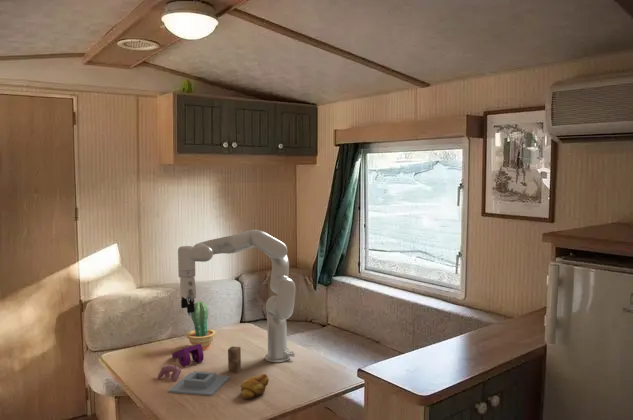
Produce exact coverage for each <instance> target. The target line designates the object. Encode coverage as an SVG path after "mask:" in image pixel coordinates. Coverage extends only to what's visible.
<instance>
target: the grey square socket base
mask: <svg viewBox="0 0 633 420" xmlns="http://www.w3.org/2000/svg"><path fill="white" fill-rule="evenodd" d="M229 379H231V375H223V374H222V375H221V374H217V372H211V371H209V372H208V371H197V370H196V371H193V372H188V374H186V375H185V376H184V377H183V378H182V379H180V380H179V381H178V382H177V383H175V385H173V386H172V387H171V388H170V389H168V393H171V394H173V393H174V394H184V395H197V396H208V397H212V396H214V395H216V393H217V392H218V391H219V390H220V389H221V388H222V387H223V386H224V385H225V384H226V383H227V382H228V381H229ZM225 382H226V383H225ZM224 383H225V384H224ZM223 384H224V385H223ZM222 385H223V386H222ZM220 387H221V388H220Z"/></svg>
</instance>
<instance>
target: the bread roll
mask: <svg viewBox="0 0 633 420" xmlns="http://www.w3.org/2000/svg"><path fill="white" fill-rule="evenodd" d="M269 381H270V379H269V376H268V375H267V374H266V373H262V374H259V375H257V376H251V377H248V378H247V379H246V380H244V381H242V382H241V385H240V391H241V396H242V398H243V399H246V400H249V399H253V398H254V397H257V396H261V395H263V394H264V393H265V391H266V388H267V386H268V384H269Z"/></svg>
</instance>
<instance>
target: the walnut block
mask: <svg viewBox="0 0 633 420" xmlns="http://www.w3.org/2000/svg"><path fill="white" fill-rule="evenodd" d="M241 349H242V347H241V346H230V347H229V348H228V349H227V365H228V370H227V371H228V373H231V374H239V372H240V371H241V370H242V360H241V359H242V358H241V357H242V355H241Z"/></svg>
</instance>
